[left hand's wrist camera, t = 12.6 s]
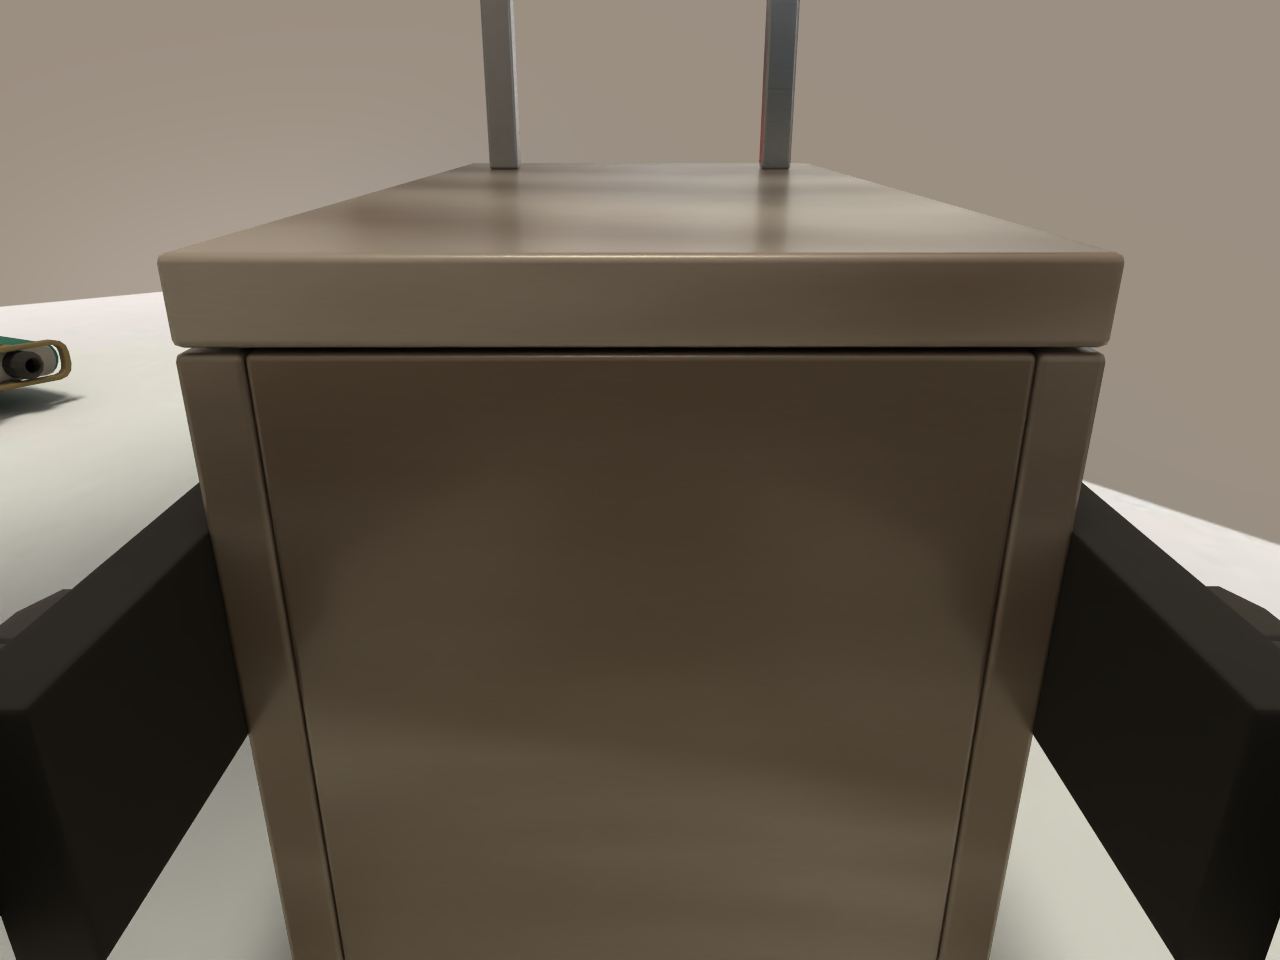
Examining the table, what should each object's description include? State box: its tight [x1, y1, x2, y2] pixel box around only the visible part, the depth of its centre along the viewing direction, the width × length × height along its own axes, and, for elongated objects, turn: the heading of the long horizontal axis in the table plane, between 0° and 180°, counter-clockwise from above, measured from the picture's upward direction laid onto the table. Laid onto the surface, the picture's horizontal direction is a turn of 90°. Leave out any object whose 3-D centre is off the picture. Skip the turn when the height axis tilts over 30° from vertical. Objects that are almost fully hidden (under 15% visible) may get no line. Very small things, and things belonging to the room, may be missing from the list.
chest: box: [176, 347, 1105, 960], centre depth 19 cm, size 17×10×10 cm, turn 0°
